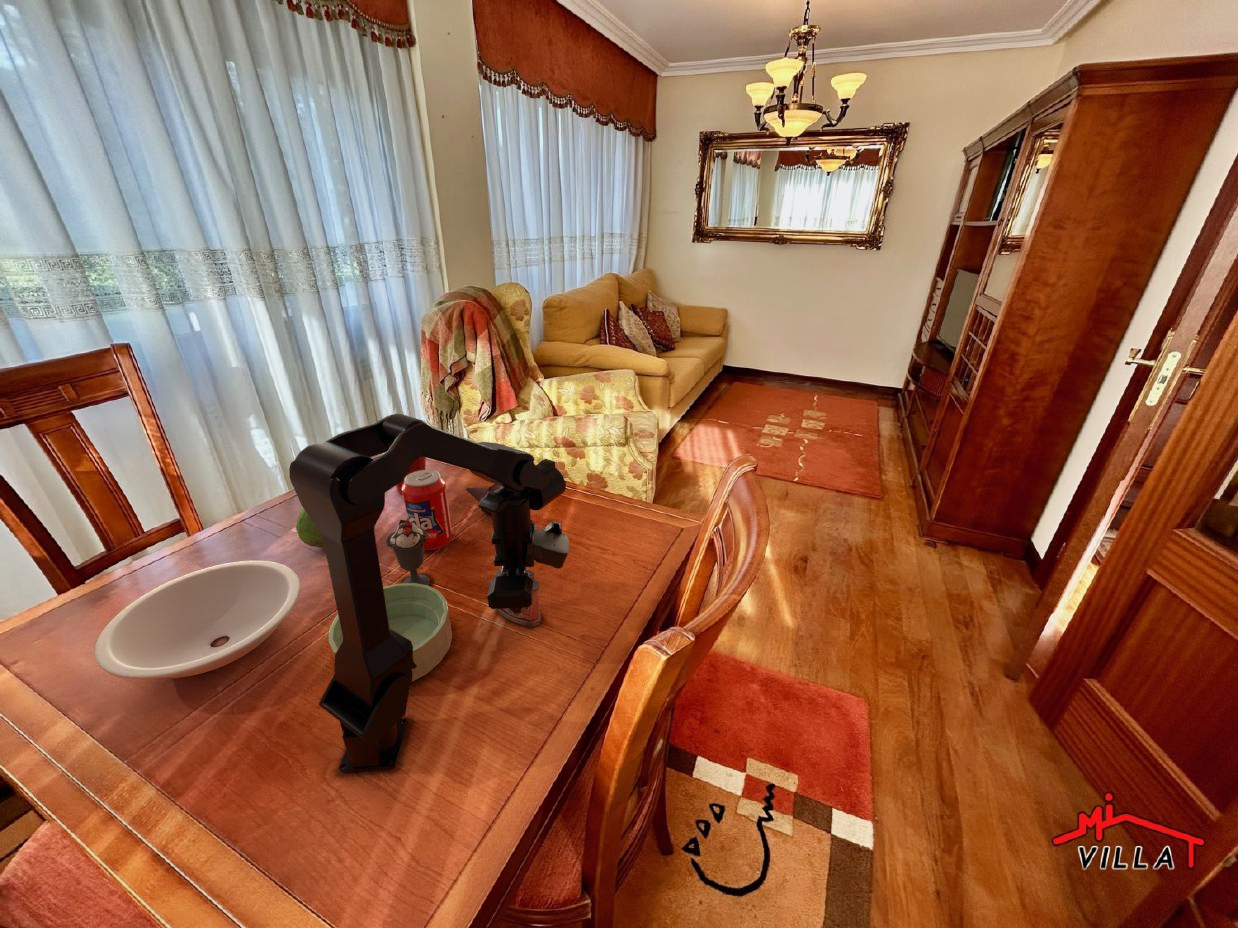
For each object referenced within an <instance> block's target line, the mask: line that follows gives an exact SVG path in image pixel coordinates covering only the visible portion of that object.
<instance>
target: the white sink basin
mask: <svg viewBox="0 0 1238 928" xmlns="http://www.w3.org/2000/svg"><path fill="white" fill-rule="evenodd" d="M300 595H301V581H300V578H299V576H298V575H297V573H296V572H295V571H294V570H293V569H291V567H289V566H288V565H286V564H285V565H284V564H282V563H279V562H275V561H271V560H255V559H254V560H240V561H239V560H238V561H233V562H232V561H231V562H226V563H220V564H216V565H213V566H209V567H205V568H201V569H198V570H196V571H192V572H190V573H187V574H184V575H182V576H179V577H177V578H174V579H172V580H170V581H167V582H166V583H164V584H161V585H159V586H157V587H155V588H154V589H151V590H150V591H148V592H147V593H145V594H143V595H142V596H140V597H138V598H136V599H135V600H133V602H131V603H129V604H128V605H127V606H125V608H123V609H122V610H120V612H119V613H117V614H116V615H115V616H114V617H113V618H112V619H111V620H110V621H109V622H108V623H107V624H106V625H105V627H104V628H103V630H102V631H101V632H100V634H99V636H98V637H97V640H96V643H95V646H94V657H95V661H96V663H97V665H98V667H100V668H101V669H102V670H103V671H104V672H106V673H108V674H110V675H111V676H114V677H118V678H123V679H130V680H152V679H153V680H154V679H178V678H185V677H186V678H187V677H192V676H196V675H201V674H205V673H207V672H210V671H215V670H217V669H219V668H222V667H225V666H226V665H229V664H231V663H233V662H235V661H237V660H239V659H241V658H242V657H244V656H246V655H247V654H249V653H250V652H252V651H253V650H255V649H256V648H257V647H259V646H260V645H261V644H262V643H263V642H265V641H266V640H267V639H268V638H269V637H270V636H271V635H272V634H273V633H274V632H275V630H276V629H278V627H279V625H280V624H281V623H282V622H283V621H284V620H285V619H286V618H287V617H288V615H289V614H290V613H291V612H292V610H293V609H294V607H295V606H296V604H297V602H298V600H299V598H300ZM223 637H228V638H229V639H228V641H226V642H225V643H224V644H222V645H219V646H211V645H212V643H213V642H214V641H215V640H218V639H220V638H223Z"/></svg>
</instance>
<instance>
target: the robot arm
mask: <svg viewBox="0 0 1238 928" xmlns="http://www.w3.org/2000/svg"><path fill="white" fill-rule="evenodd" d="M385 452H386V453H385ZM382 453H384V454H383V455H381V454H382ZM375 456H378V457H376V458H375V459H374V458H373V457H375ZM421 456H423V457H426V459H430V460H433V461H437V462H441V463H444V464H447V465H452V466H455V467H458V468H462V469H465V470H468V471H470V473H471V474H473V475H474V476H476V477H478V478H480V479H481V480H483V481H485V482H488V483H491V484H493V485H494V484H497V485H499V486H501V488H499V489H497V490H496V491H494V492H492V491H488V493H487V495H486V496H485V497H484V498H483V499H482V500H481V501H480V503H479V502H478V507H479V509H481V508H482V509H485V510H487V511H490V512H491V514H490V515H491V521H492V522H491V523H492V535H491V539H490V540H491V545H494V550H495V553H494V559H493V567H501V566H503V567H502V574H508V572H509V575H507V576H496V577H495V576H494V577H493V578H492V579H491V580H490V581H489V585H488V586H489V587H488V592H487V597H486V598H487V607H488V608H490V609H491V610H498V609H507V608H509V609H510V610H511V611H512V612H513V613H514V614H519V613H521V608H528V607H529V606H531V605H532V598H533V583H534V581H533V579H531V578H530V577H529V574H528V573H526V572H525V569H526V570H528V569H527V568H534V567H535V562H536V563H537V564H541V565H546V566H549V567H553V568H554V569H558V570H559V569H562V568H563V566H564V564H565V562H566V559H567V557H568V554H569V552H570V539H569V538H568V537H567V533H566V532H564V533H563V529H562V523H561V522H559V521H555V520H552V521H550V522H549V523H548V524H547V525H546V526H545V527H542V529H538V525H537V524H536V523H535V522H533V519H532V518H531V517H532V515H531V510H532V511H541V510H542V509H543V508H545V507H546V506H547V505H549V504H551V503H552V502H553V501H555V500H556V499H557V498H559V497H561V495H563V494H564V493H565V491H566V489H567V482H566V480H565V477H564V475H563V473H562V472H561V471H560V470H559V469H558V468H557V467H556V461H555V460H553V459H552V460H551V459H549V458H543V459H542V460H540V461H539V462H538V463H537V464H535V457H534V455H533V454H531V453H530V452H527V451H524V450H521V449H517V448H514V447H511V446H507V445H504V444H502V443H498V442H489V441H480V442H478V441H477V442H476V441H473V440H471V439H468V438H465V437H463V436H460V435H457V434H456V433H455V434H454V433H451V432H449V431H447V430H443V429H441V428H439V427H436V426H433V425H430V424H429V423H428V422H427V421H425V420H422V419H419V418H416V417H413V416H409V415H406V414H403V413H393V414H389V415H386V416H384V417H383V418H381V419H379V420H378V421H375V422H373V423H371V424H367V425H364V426H361V427H357V428H354V429H351V430H346V431H342V432H340V433H338V434H335V435H334V436H332V437H330V438H329V439H327V440H325V441H317V442H314V443H311V444H310V445H309V444H308V445H307V446H306V447H304V448H303V449H302V450H301V451H300V452H298V454H297V456H296V457H295V459H294V460H291V462H290V464H289V471H288V473H289V474H288V475H289V480H290V483H291V485H292V488H293V490H294V492H295V494H296V496H297V498H298V500H299V503H300V505H301V506H302V509H303V508H304V509H305V511H306V512H307V513H308V515H309V516H310V518H311V519H312V520H313V522H314V523H315V525H316V526H317V527H318V529H319V530H320V532H321V534H322V538H323V543H324V548H323V549H324V552H325V557H326V562H327V566H328V571H329V577H330V581H331V587H332V591H333V596H334V601H335V606H336V610H337V615H339V620H340V625H341V630H342V635H343V641H342V643H341V645H340V647H339V648H338V650H337V652H336V654H335V661H334V673H333V675H332V677H331V680H330V681H329V683H328V685H327V687H326V689H325V690H324V692H323V695H322V696H321V698H320V701H319V702H318V706H319V707H321V708H322V709H323V710H324V711H326V712H327V713H328V714H330V715H331V716H332V717H334V718H335V719H336V720H338V721H339V726H340V729H341V732H342V736H341V738H342V741H343V743H344V747H345V751H344V754H343V756H342V759H341V760H340V763H339V766H338V771H339V773H343V774H344V773H354V772H357V773H358V772H368V771H383V770H393V769H394V768H395V767H396V765H397V762H398V760H399V756H400V753H401V749H402V747H403V743H404V741H405V736H406V734H407V730H408V727H409V724H410V721H409V719H408V718H407V717H405V716H406V713H407V708H408V701H409V694H410V688H411V685H412V683H413V682H412V677H413V672H412V669H415V668H416V667H417V665H416V664H415V663H414V661H413V646H412V642H411V641H410V640H409V639H407V638H405V637H404V636H402V635H400V634H399V633H397V632H395V631H394V630H392V629H390V627H389V621H388V615H387V608H386V602H385V595H384V589H383V587H384V584H383V583H384V582H383V578H382V570H381V564H380V558H379V551H378V545H377V538H376V533H375V531H376V530H375V527H376V524H377V522H378V521H379V519H380V517H381V516H382V514H383V512H384V509H385V506H386V493H387V492H388V491H390V490H391V489H392V488H394V487H396V485H397V484H398V483H400V482H401V481H402V480H403V479H404V478H405V476H406V474H407V473H408V471H409V469H410V467H411V466H412V464H413V462H414V461H415V460H417V459H418V458H420V457H421ZM482 509H481V510H482ZM518 568H519V571H518ZM517 571H518V575H517Z"/></svg>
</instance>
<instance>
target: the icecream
mask: <svg viewBox="0 0 1238 928" xmlns="http://www.w3.org/2000/svg"><path fill="white" fill-rule="evenodd" d="M501 487H502V486H499V485H497V484H494V483H493V485H491V486H487V487H486V486H484V487H483V486H481V487H480V486H479V487H466V488H465V490H466V491H467V492H468V493H469V495H471V496H472V497H473V498H474V499H475V500H476V501H477V502H478V504H479V503H480V501H481V500H482V499H483V498H484V497H485V496H486V495H487V493H488V491H492V492H494V491H496V490H497V489H499V488H501ZM480 509H481V512H483V513H485V514H490V515H492V514H491V512H490V511H487V510H485V509H482V508H480Z"/></svg>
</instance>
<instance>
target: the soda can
mask: <svg viewBox="0 0 1238 928" xmlns="http://www.w3.org/2000/svg"><path fill="white" fill-rule="evenodd" d="M402 494H403V495H402V500H403V504H404V510H405V515H406V519H407V518H409V521H411V522H413V523H414V524H415V525H416V526H417V527H419V528H422V529H424V530H425V531H426V532H427V534H428V537H427V538H426V539H427V540H426V541H425V542H424V551H434V550H438V549H441V548H443V547H445V546H446V545H448V544H449V543H450V542H451V540H452V539H453V529H452V521H451V516H450V508H449V507H450V506H449V501H448V493H447V487H446V482H445V480H444V479H443V478H442V477H441V474H440V473H439V471H437V470H434V469H425V470H419V471H415V472H412V473H410V474H408V475H407V476H406V477H405V478H404V484H403V485H402Z"/></svg>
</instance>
